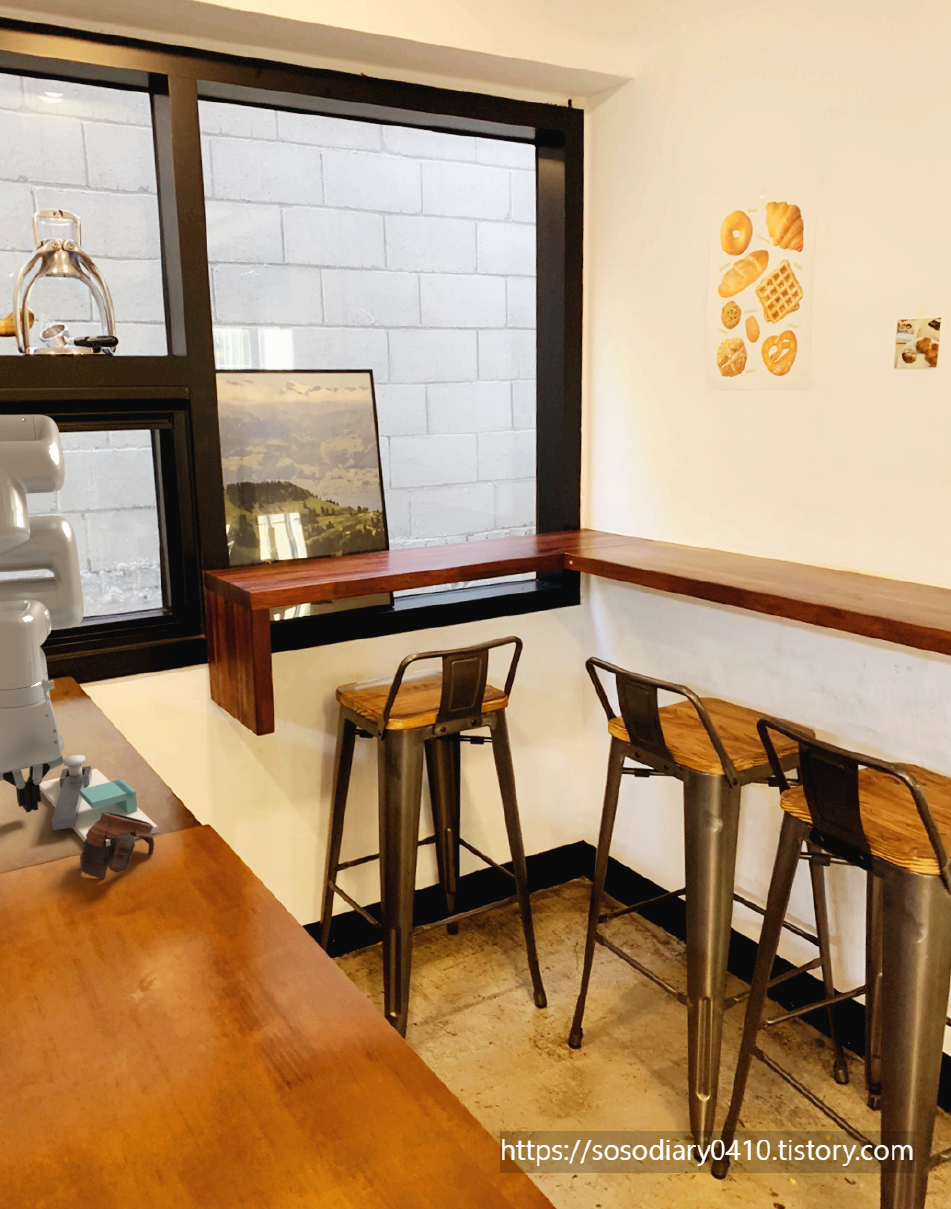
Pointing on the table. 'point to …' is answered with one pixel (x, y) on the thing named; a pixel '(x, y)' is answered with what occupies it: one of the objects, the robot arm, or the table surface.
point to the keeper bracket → (111, 795)
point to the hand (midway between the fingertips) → (30, 807)
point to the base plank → (86, 813)
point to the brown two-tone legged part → (113, 843)
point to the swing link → (70, 798)
